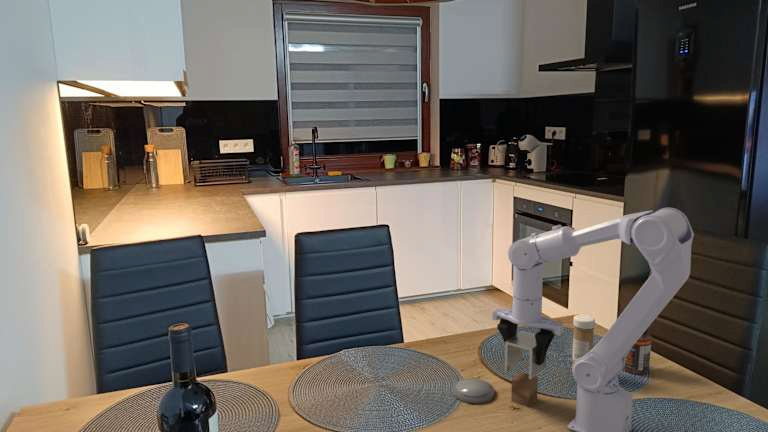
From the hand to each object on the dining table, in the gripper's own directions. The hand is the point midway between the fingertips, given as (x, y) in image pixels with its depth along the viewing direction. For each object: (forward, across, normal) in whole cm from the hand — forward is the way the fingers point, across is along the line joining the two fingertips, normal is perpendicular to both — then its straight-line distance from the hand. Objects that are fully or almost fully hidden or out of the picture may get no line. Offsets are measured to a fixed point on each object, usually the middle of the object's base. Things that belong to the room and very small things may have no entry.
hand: (525, 359), depth 111 cm
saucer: (+9, +10, +4) cm, 14 cm away
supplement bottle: (+9, -14, -28) cm, 33 cm away
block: (+9, 0, 0) cm, 9 cm away
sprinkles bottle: (+9, -5, -19) cm, 22 cm away
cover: (+2, 0, 0) cm, 2 cm away
